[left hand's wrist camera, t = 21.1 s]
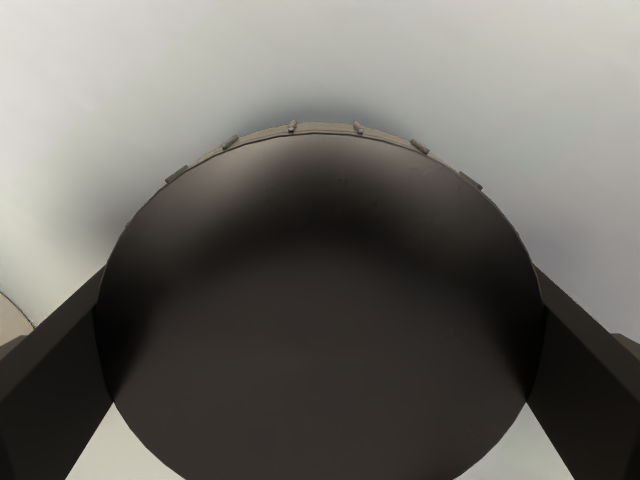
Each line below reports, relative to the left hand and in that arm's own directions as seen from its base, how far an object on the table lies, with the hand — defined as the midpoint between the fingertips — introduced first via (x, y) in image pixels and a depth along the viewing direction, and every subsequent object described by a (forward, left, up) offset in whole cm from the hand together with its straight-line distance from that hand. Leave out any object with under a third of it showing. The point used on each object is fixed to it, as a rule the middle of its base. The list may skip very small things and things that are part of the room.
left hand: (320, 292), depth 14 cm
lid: (0, 0, +3) cm, 3 cm away
